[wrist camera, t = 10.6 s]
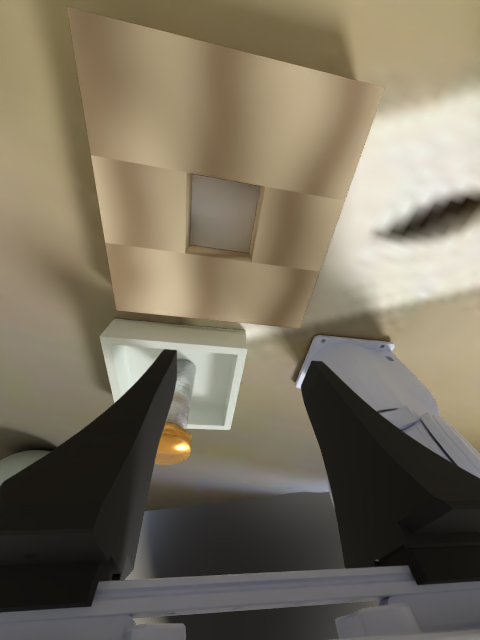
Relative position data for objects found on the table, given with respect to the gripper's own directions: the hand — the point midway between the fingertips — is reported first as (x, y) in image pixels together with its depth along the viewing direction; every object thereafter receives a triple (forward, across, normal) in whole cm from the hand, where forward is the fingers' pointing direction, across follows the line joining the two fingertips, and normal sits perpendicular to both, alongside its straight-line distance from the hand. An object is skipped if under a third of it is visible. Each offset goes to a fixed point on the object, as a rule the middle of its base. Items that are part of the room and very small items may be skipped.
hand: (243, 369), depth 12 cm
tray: (+10, +5, +11) cm, 16 cm away
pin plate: (+10, +2, -6) cm, 12 cm away
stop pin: (+10, +5, +10) cm, 15 cm away
